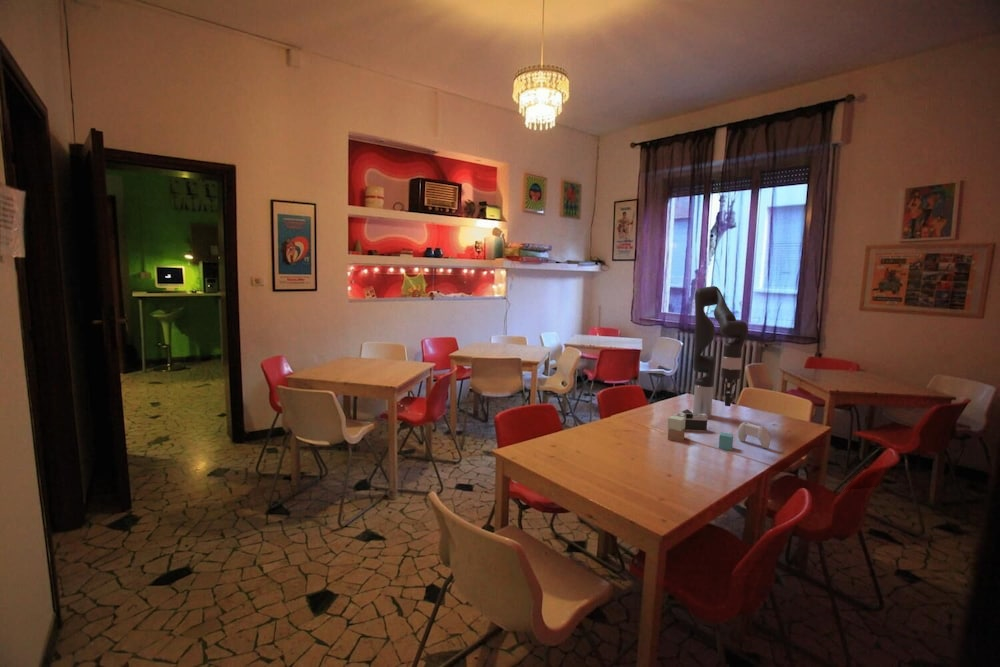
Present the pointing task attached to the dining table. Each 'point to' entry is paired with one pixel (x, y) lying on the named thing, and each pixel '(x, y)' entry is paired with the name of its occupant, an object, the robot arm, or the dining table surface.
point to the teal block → (726, 441)
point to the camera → (694, 421)
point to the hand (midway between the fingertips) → (728, 404)
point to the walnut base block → (676, 435)
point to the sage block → (676, 423)
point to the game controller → (754, 433)
